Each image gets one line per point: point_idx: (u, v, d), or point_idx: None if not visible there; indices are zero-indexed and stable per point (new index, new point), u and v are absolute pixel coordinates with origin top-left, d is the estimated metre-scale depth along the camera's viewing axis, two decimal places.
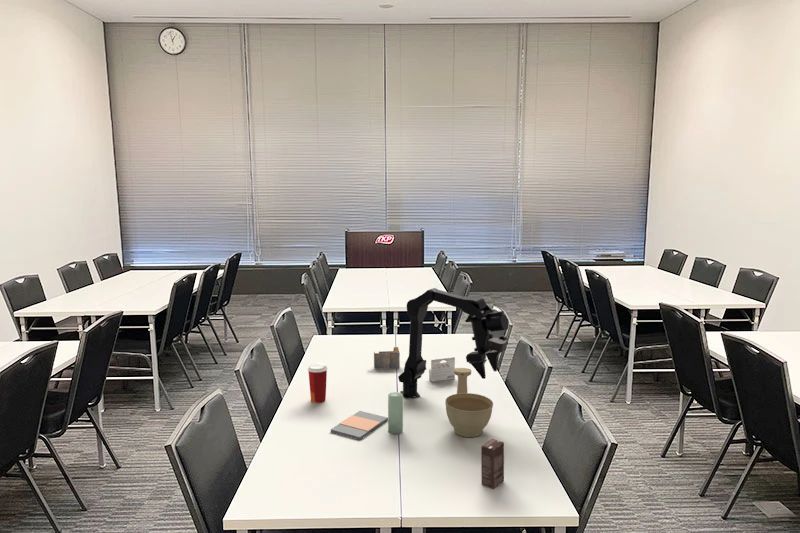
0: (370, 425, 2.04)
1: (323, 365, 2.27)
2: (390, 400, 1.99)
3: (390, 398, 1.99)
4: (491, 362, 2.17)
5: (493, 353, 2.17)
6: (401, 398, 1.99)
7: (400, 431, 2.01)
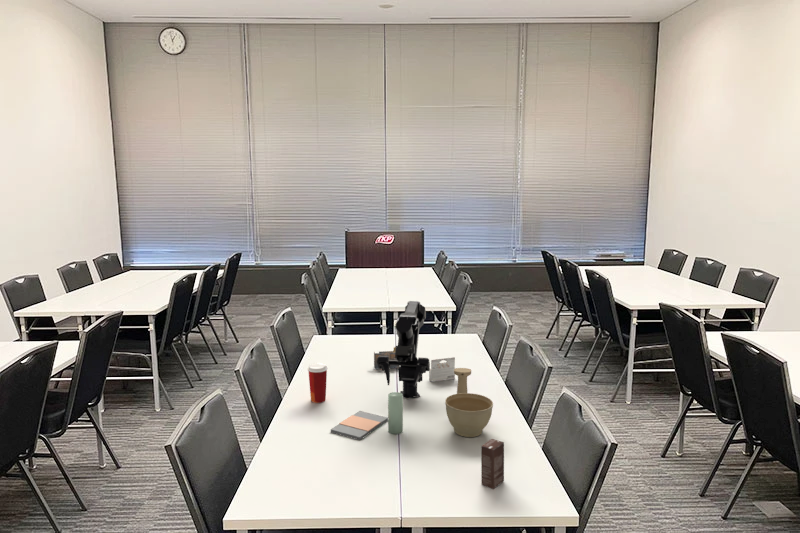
0: (370, 425, 2.04)
1: (323, 365, 2.27)
2: (390, 400, 1.99)
3: (390, 398, 1.99)
4: None
5: None
6: (401, 398, 1.99)
7: (400, 431, 2.01)
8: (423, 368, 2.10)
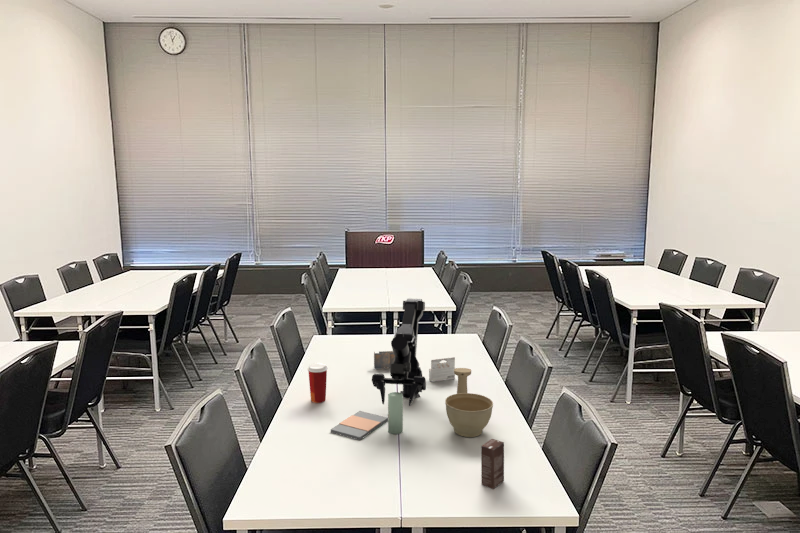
0: (370, 425, 2.04)
1: (323, 365, 2.27)
2: (390, 400, 1.99)
3: (390, 398, 1.99)
4: None
5: None
6: (401, 398, 1.99)
7: (400, 431, 2.01)
8: (419, 387, 2.04)
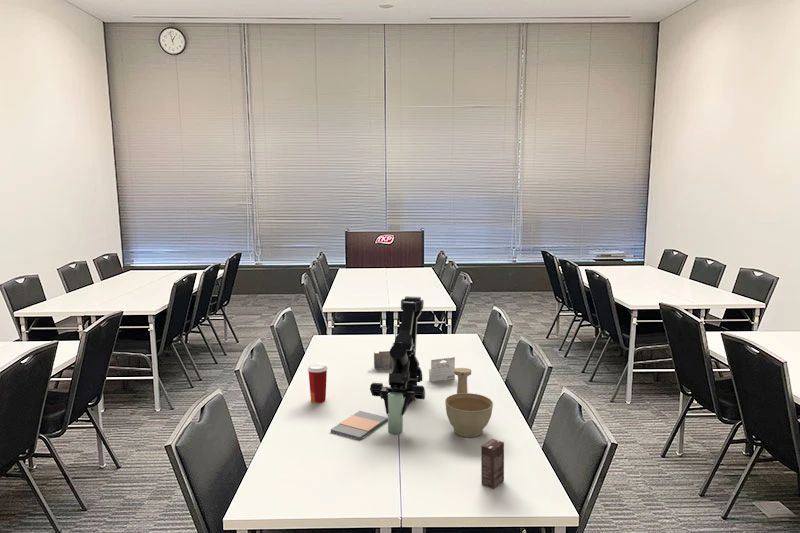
0: (370, 425, 2.04)
1: (323, 365, 2.27)
2: (390, 400, 1.99)
3: (390, 398, 1.99)
4: None
5: None
6: (401, 398, 1.99)
7: (400, 431, 2.01)
8: (412, 396, 2.02)
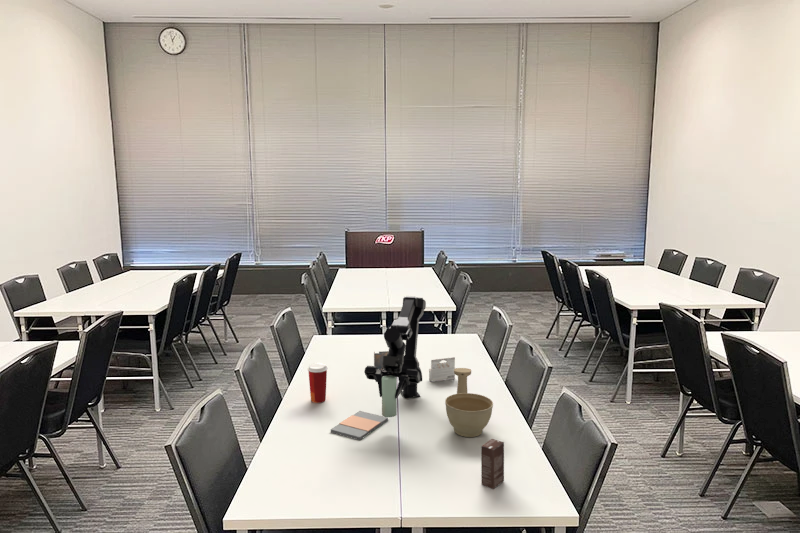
0: (370, 425, 2.04)
1: (323, 365, 2.27)
2: (383, 383, 1.98)
3: (383, 381, 1.98)
4: None
5: None
6: (394, 381, 1.98)
7: (393, 414, 2.00)
8: (406, 380, 2.01)
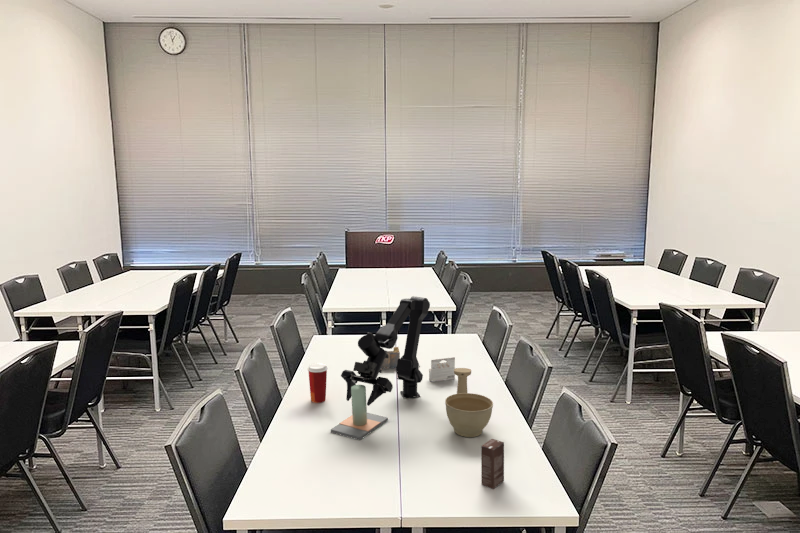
0: (370, 425, 2.04)
1: (323, 365, 2.27)
2: (351, 392, 2.03)
3: (351, 390, 2.02)
4: None
5: None
6: (362, 391, 2.02)
7: (362, 423, 2.04)
8: (380, 388, 2.03)
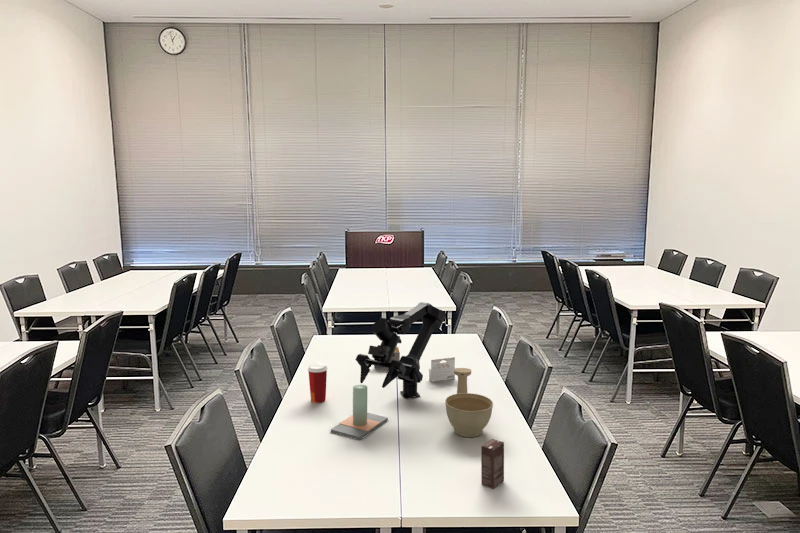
0: (370, 425, 2.04)
1: (323, 365, 2.27)
2: (353, 391, 2.03)
3: (353, 389, 2.03)
4: None
5: None
6: (363, 391, 2.02)
7: (362, 423, 2.04)
8: (395, 371, 2.10)
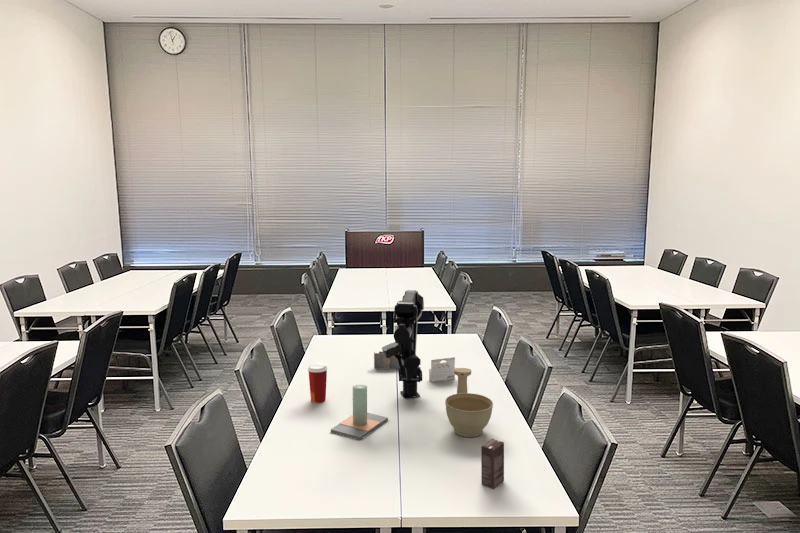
0: (370, 425, 2.04)
1: (323, 365, 2.27)
2: (353, 391, 2.03)
3: (353, 389, 2.03)
4: None
5: None
6: (363, 391, 2.02)
7: (362, 423, 2.04)
8: None
